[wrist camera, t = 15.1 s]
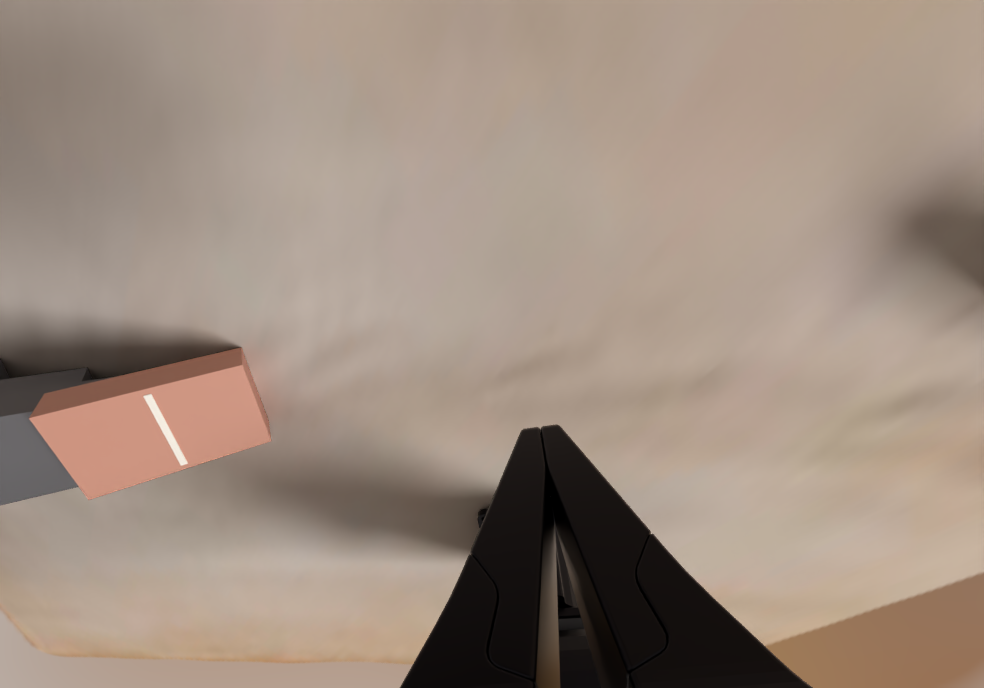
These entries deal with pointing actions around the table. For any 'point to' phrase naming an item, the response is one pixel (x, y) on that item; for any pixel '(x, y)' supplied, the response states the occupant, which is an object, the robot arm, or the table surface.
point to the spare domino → (153, 421)
